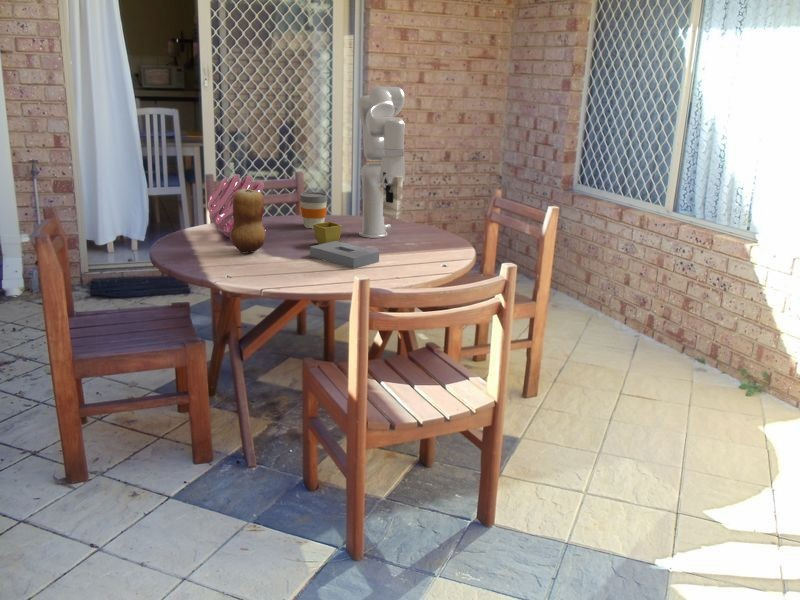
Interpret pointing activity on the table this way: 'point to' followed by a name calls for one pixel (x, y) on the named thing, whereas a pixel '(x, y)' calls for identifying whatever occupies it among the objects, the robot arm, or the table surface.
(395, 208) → the pine slat
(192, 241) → the table surface
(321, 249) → the grey slotted tile
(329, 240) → the flower pot
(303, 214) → the reusable coffee cup
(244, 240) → the butternut squash
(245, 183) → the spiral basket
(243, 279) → the table surface
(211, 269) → the table surface
